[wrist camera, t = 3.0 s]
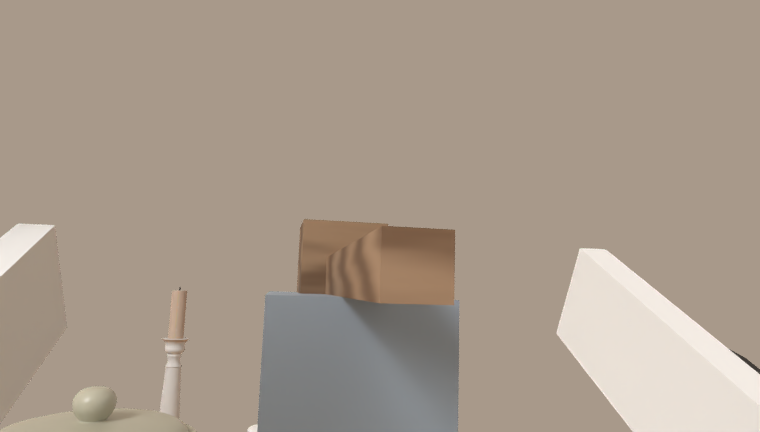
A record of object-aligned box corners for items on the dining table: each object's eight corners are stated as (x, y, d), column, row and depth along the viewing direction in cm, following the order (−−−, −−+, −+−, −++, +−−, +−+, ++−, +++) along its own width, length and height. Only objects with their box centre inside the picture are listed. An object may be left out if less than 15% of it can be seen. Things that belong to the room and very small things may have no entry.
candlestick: (84, 526, 66) (108, 285, 70) (151, 489, 79) (168, 286, 83) (174, 540, 63) (193, 287, 67) (228, 500, 76) (242, 288, 80)
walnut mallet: (501, 306, 21) (501, 160, 22) (327, 301, 20) (334, 147, 21) (370, 294, 50) (373, 232, 51) (296, 292, 49) (300, 228, 50)
